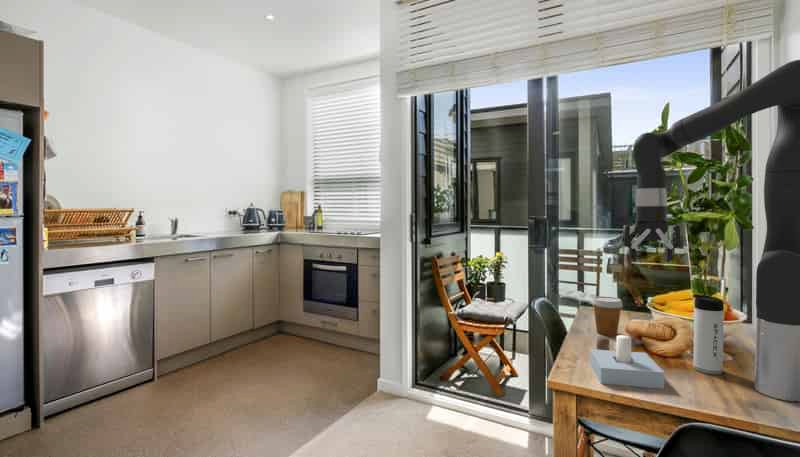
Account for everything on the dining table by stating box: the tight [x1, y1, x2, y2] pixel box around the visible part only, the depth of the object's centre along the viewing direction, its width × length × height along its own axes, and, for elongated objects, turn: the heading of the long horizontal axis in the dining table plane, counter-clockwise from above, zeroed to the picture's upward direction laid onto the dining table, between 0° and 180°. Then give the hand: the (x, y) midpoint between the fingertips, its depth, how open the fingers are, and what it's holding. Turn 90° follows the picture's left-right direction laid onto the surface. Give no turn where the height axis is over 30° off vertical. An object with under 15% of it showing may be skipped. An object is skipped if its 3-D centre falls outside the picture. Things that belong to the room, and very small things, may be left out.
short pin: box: [596, 336, 610, 350], centre depth 123 cm, size 3×3×5 cm
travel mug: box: [692, 293, 725, 376], centre depth 110 cm, size 6×7×20 cm
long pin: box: [615, 334, 632, 364], centre depth 108 cm, size 3×3×10 cm
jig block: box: [589, 348, 665, 390], centre depth 108 cm, size 14×14×4 cm
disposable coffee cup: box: [591, 296, 623, 337], centre depth 144 cm, size 10×10×12 cm
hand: (650, 261), depth 118 cm, fingers open, 8 cm apart
